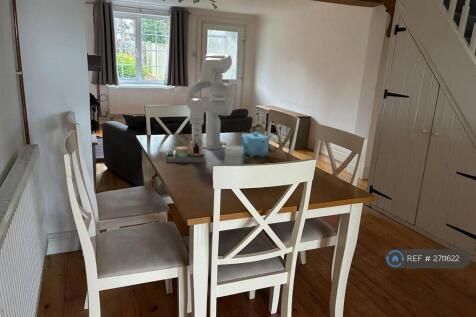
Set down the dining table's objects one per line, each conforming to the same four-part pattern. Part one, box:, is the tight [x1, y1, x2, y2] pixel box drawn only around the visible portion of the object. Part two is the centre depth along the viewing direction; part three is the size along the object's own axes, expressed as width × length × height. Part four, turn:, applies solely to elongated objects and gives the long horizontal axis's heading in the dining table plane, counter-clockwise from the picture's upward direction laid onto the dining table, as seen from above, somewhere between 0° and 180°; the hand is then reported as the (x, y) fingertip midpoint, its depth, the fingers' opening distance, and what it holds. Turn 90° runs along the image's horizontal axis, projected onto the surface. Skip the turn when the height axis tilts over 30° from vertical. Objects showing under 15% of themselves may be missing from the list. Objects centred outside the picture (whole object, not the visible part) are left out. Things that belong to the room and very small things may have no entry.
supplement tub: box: [224, 144, 245, 166], centre depth 181 cm, size 10×10×15 cm
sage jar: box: [174, 146, 189, 158], centre depth 202 cm, size 7×7×7 cm
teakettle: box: [237, 132, 273, 159], centre depth 221 cm, size 19×19×15 cm
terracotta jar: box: [189, 140, 204, 155], centre depth 202 cm, size 7×7×7 cm
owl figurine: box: [248, 121, 266, 136], centre depth 246 cm, size 18×12×17 cm, turn 24°
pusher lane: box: [165, 151, 206, 163], centre depth 203 cm, size 22×9×4 cm, turn 99°
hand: (195, 151), depth 202 cm, fingers closed on terracotta jar, 7 cm apart
